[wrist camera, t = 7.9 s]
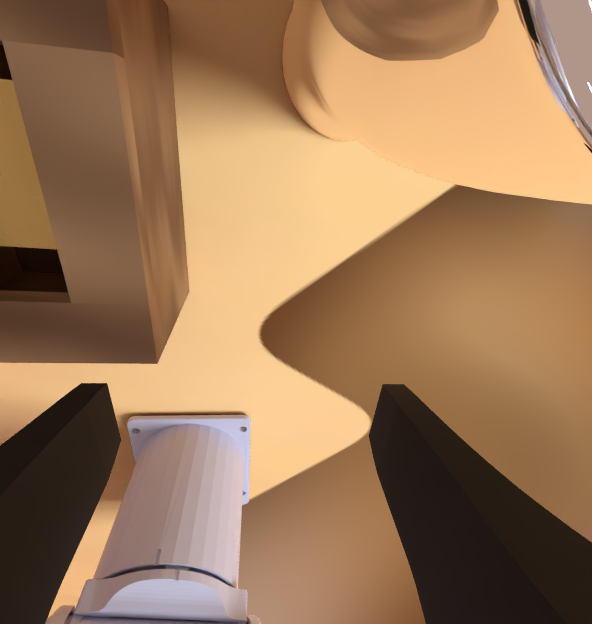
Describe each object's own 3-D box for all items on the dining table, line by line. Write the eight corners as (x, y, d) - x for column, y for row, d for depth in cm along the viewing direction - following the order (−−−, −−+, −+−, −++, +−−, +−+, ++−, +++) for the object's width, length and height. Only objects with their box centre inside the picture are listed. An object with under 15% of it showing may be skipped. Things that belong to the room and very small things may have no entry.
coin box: (189, 291, 18) (157, 363, 13) (10, 285, 17) (-113, 361, 12) (167, 5, 13) (92, -94, 7) (-101, -29, 12) (-440, -179, 6)
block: (114, 217, 16) (61, 249, 12) (61, 213, 16) (-14, 245, 12) (96, 96, 14) (21, 81, 10) (33, 89, 14) (-73, 69, 9)
